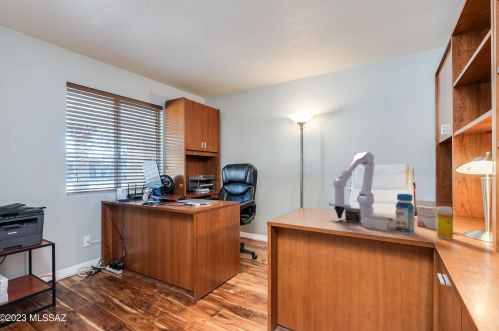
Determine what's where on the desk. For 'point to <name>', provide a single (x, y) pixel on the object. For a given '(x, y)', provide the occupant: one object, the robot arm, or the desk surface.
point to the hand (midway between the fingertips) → (339, 218)
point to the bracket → (379, 223)
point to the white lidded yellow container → (444, 222)
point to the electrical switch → (353, 215)
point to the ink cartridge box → (426, 214)
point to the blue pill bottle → (404, 214)
